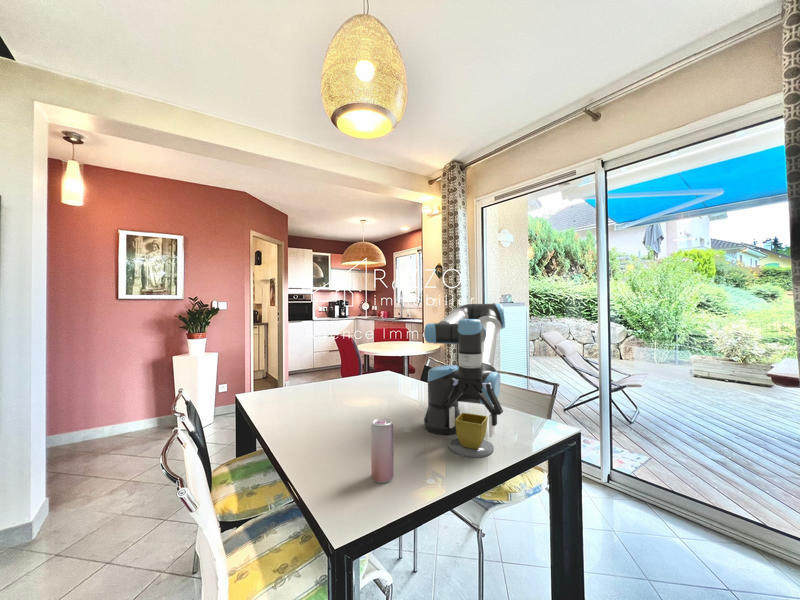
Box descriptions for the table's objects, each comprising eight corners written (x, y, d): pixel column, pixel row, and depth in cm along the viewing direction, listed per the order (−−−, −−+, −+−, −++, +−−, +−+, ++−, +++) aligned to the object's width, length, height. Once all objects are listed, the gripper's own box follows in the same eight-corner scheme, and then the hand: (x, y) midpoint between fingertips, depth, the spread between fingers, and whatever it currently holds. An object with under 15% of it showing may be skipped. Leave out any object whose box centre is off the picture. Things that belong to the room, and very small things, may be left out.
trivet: (442, 450, 103) (442, 448, 103) (460, 436, 115) (460, 434, 115) (485, 461, 96) (485, 459, 96) (499, 445, 107) (499, 442, 107)
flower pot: (488, 443, 107) (488, 415, 107) (482, 453, 99) (482, 424, 99) (462, 438, 111) (462, 412, 111) (454, 448, 103) (454, 420, 103)
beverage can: (371, 473, 89) (371, 418, 90) (392, 471, 90) (392, 417, 90) (371, 484, 84) (371, 426, 84) (394, 483, 84) (393, 425, 85)
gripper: (431, 364, 110) (432, 427, 110) (505, 371, 96) (506, 443, 96) (441, 361, 116) (442, 420, 116) (511, 367, 102) (513, 435, 102)
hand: (471, 431), depth 106 cm, fingers open, 13 cm apart
